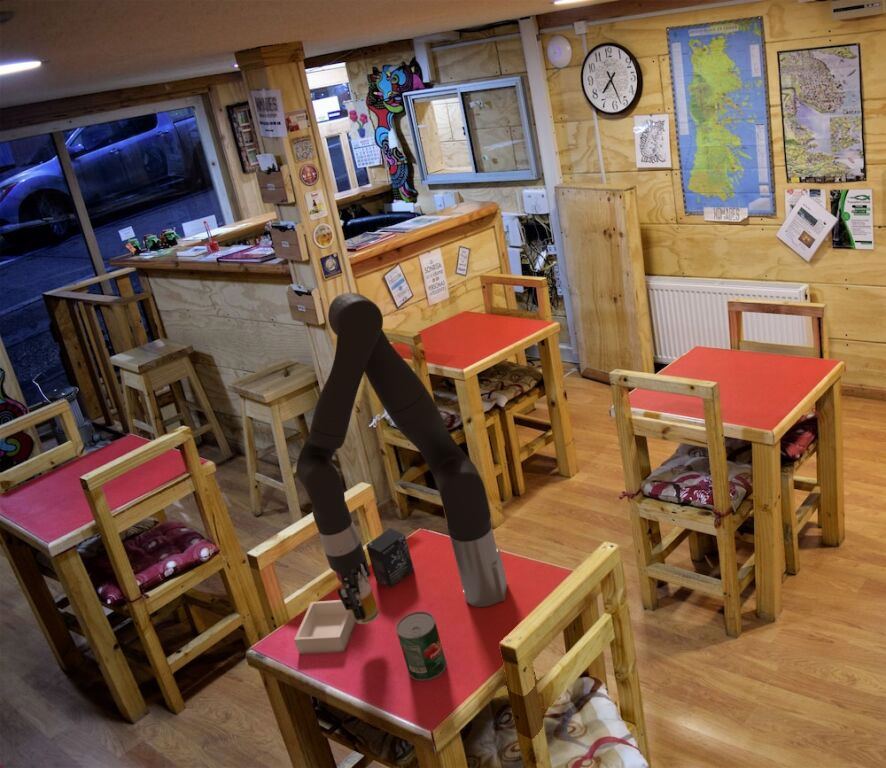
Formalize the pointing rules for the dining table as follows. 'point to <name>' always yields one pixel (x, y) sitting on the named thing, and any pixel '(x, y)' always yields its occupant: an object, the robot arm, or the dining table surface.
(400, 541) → the box
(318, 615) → the tub
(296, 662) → the dining table surface
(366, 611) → the supplement bottle
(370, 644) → the dining table surface
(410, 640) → the canned tomato
